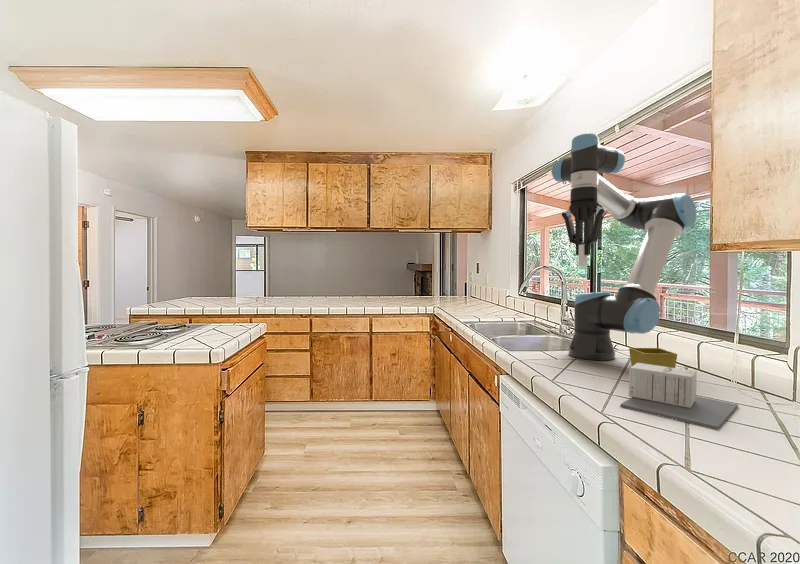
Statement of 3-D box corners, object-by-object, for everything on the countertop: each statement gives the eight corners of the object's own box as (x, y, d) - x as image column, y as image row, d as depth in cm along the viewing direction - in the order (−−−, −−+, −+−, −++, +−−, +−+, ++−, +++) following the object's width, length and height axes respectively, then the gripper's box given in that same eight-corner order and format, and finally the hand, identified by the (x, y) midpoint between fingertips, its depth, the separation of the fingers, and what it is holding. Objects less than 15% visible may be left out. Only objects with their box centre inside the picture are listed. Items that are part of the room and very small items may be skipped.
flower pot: (627, 377, 119) (628, 347, 118) (658, 378, 118) (659, 347, 118) (643, 386, 110) (644, 353, 110) (677, 387, 109) (678, 353, 109)
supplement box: (636, 361, 104) (697, 370, 96) (635, 390, 104) (696, 401, 96) (628, 366, 99) (692, 376, 90) (628, 397, 99) (691, 409, 90)
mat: (649, 389, 107) (650, 387, 107) (737, 406, 94) (738, 404, 94) (620, 406, 94) (620, 404, 94) (718, 429, 80) (718, 426, 80)
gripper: (557, 189, 125) (556, 266, 126) (601, 182, 116) (599, 266, 116) (568, 192, 130) (567, 266, 131) (611, 186, 121) (610, 266, 121)
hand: (582, 266), depth 124 cm, fingers closed
